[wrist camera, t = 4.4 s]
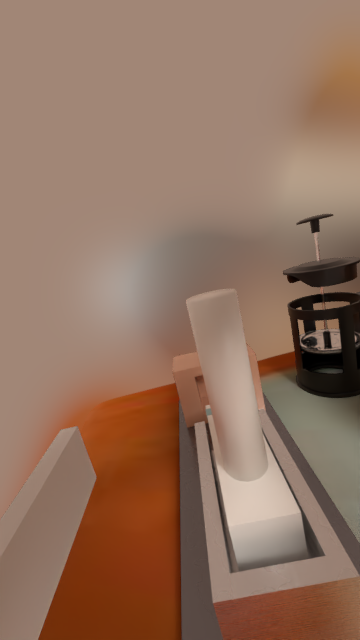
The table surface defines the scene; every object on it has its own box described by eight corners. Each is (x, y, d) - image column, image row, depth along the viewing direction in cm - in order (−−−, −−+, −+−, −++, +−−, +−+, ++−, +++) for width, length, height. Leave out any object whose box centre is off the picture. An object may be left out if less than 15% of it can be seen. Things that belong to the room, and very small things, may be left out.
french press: (314, 406, 33) (290, 220, 28) (281, 375, 42) (259, 230, 37) (402, 384, 33) (395, 195, 28) (351, 357, 43) (338, 211, 37)
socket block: (254, 390, 37) (244, 340, 35) (265, 410, 32) (255, 353, 31) (185, 405, 38) (173, 356, 36) (187, 427, 33) (172, 372, 31)
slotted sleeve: (258, 391, 39) (251, 352, 38) (421, 658, 13) (418, 565, 12) (181, 408, 40) (171, 370, 38) (188, 697, 14) (158, 613, 12)
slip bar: (252, 431, 27) (222, 277, 23) (310, 567, 15) (268, 297, 11) (213, 440, 27) (176, 288, 23) (240, 580, 15) (176, 318, 11)
